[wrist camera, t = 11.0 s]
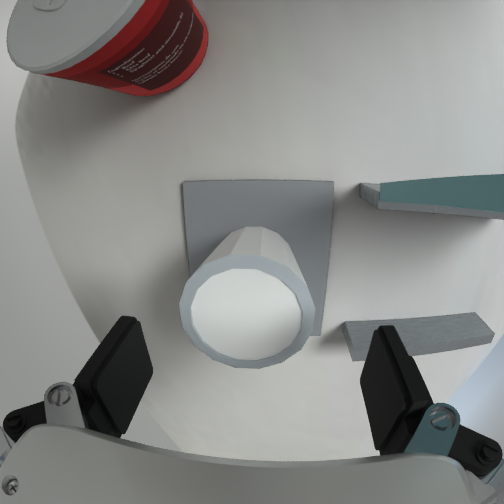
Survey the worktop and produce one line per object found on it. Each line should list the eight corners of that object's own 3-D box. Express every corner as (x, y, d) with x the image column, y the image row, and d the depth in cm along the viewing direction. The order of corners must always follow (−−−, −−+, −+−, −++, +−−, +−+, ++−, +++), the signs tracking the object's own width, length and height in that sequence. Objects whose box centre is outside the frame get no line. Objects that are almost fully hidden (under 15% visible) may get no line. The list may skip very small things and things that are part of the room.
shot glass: (266, 321, 22) (263, 387, 16) (189, 275, 21) (157, 329, 15) (322, 253, 20) (344, 304, 14) (239, 197, 19) (222, 225, 13)
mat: (184, 181, 20) (182, 182, 19) (332, 181, 19) (334, 182, 18) (197, 329, 24) (196, 332, 23) (319, 332, 23) (320, 335, 23)
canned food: (114, 17, 15) (25, -33, 5) (214, 0, 15) (169, -92, 4) (105, 104, 18) (-7, 94, 7) (208, 93, 17) (139, 44, 7)
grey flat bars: (360, 182, 19) (379, 191, 15) (501, 199, 18) (529, 210, 14) (343, 331, 23) (352, 361, 19) (472, 321, 22) (490, 342, 18)
